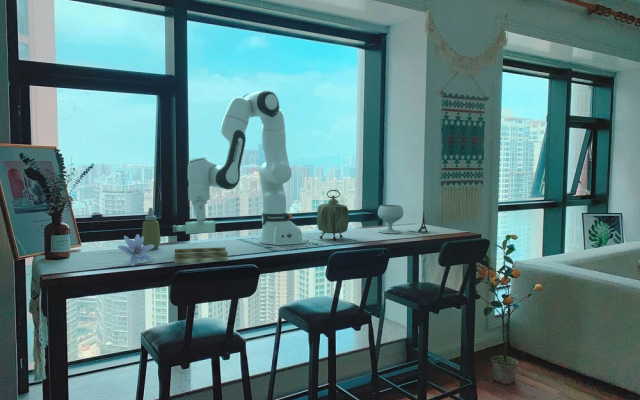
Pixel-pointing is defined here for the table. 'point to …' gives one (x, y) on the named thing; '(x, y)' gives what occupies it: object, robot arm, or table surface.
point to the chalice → (390, 216)
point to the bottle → (196, 227)
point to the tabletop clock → (332, 217)
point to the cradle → (200, 255)
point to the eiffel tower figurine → (423, 227)
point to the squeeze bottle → (151, 230)
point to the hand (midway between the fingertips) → (200, 228)
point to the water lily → (137, 249)
